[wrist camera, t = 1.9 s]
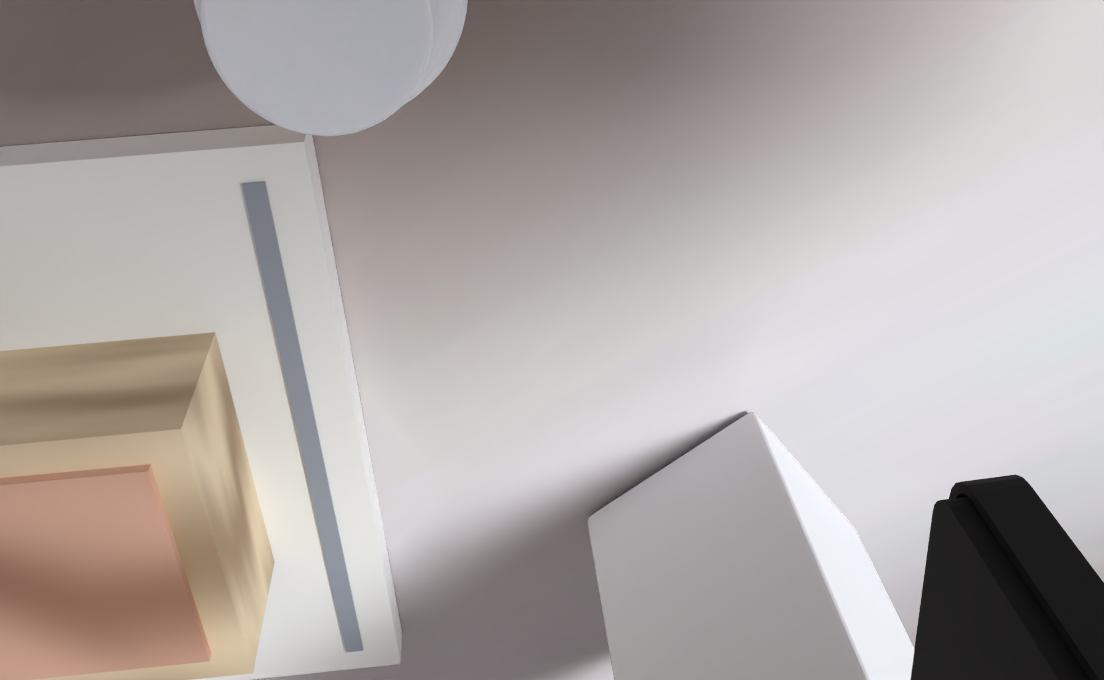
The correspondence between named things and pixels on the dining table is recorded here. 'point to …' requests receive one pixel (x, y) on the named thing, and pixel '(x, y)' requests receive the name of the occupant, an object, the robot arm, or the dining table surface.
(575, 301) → the dining table surface
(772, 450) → the milk carton
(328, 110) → the supplement bottle
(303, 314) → the white cutting board
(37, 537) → the oak plinth
